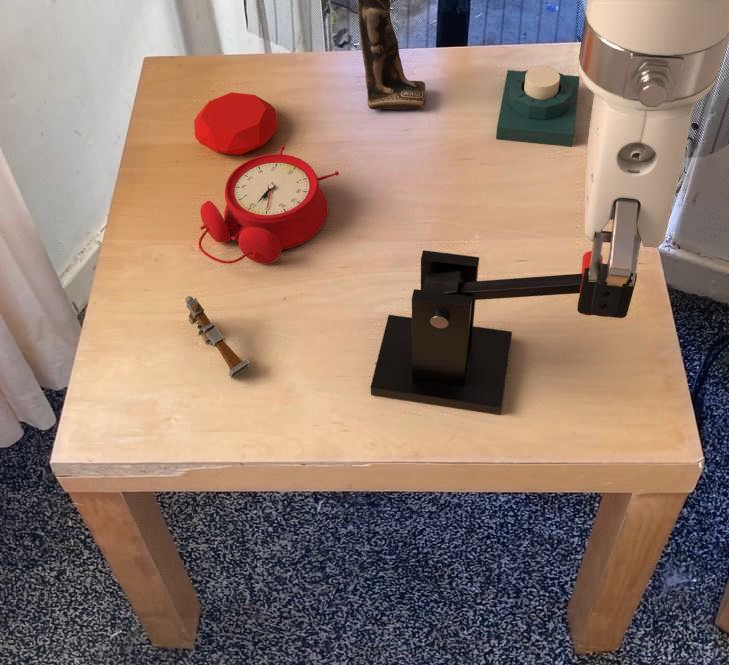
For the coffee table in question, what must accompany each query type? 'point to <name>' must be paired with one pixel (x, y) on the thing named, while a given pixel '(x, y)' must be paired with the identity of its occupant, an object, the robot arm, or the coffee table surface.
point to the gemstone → (235, 123)
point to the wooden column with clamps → (214, 337)
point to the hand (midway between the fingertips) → (604, 259)
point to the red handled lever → (507, 284)
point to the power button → (541, 82)
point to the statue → (385, 60)
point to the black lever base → (443, 347)
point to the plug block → (538, 112)
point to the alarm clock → (268, 207)
